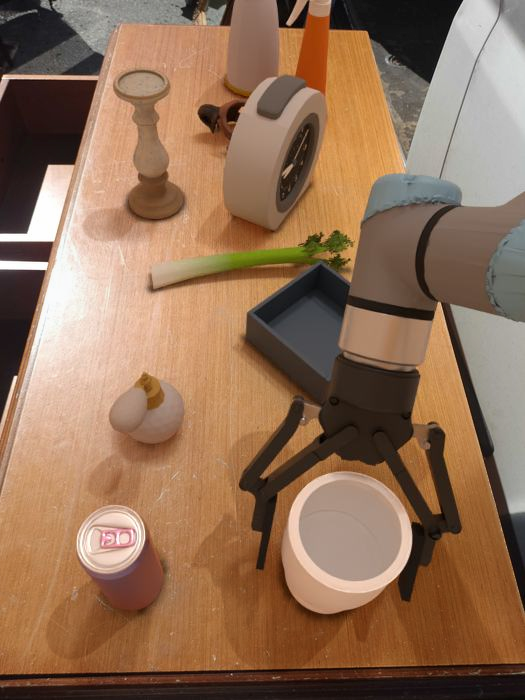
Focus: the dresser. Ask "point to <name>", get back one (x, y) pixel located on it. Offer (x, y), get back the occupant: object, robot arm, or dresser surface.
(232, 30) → the soap bottle
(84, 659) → the dresser surface
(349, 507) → the jar
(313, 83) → the spray bottle
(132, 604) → the beverage can
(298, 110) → the alarm clock
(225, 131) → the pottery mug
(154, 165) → the candle holder
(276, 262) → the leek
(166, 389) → the perfume bottle
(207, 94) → the dresser surface
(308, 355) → the tray
